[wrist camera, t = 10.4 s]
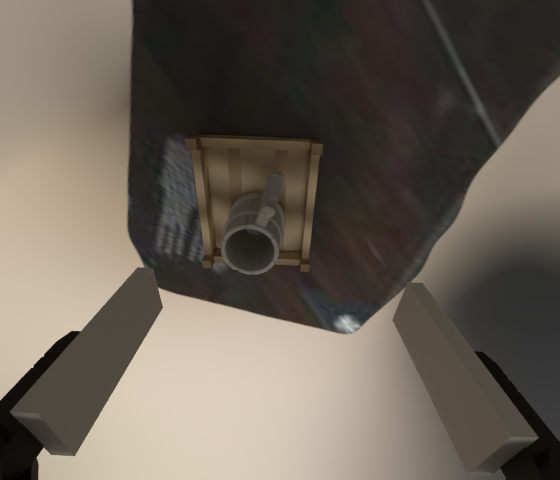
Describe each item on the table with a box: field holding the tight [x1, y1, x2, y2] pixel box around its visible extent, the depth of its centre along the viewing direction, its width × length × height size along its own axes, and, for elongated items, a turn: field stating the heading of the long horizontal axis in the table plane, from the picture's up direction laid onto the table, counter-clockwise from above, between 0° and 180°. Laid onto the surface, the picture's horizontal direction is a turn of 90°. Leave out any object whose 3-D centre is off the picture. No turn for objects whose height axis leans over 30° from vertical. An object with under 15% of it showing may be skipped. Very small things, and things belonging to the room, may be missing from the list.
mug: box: [221, 169, 286, 275], centre depth 29 cm, size 8×12×12 cm, turn 157°
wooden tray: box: [185, 134, 323, 272], centre depth 33 cm, size 17×15×5 cm
